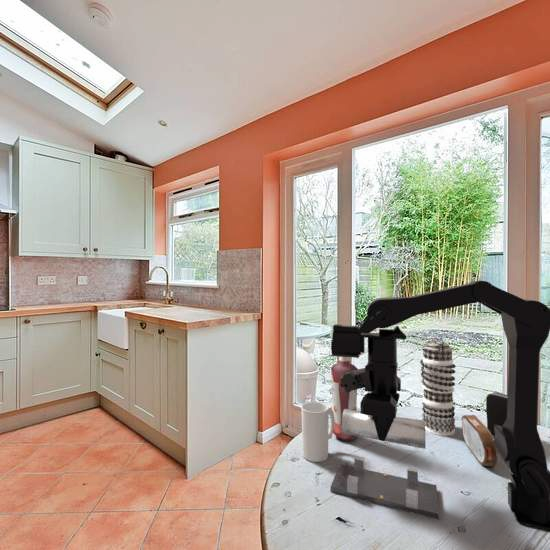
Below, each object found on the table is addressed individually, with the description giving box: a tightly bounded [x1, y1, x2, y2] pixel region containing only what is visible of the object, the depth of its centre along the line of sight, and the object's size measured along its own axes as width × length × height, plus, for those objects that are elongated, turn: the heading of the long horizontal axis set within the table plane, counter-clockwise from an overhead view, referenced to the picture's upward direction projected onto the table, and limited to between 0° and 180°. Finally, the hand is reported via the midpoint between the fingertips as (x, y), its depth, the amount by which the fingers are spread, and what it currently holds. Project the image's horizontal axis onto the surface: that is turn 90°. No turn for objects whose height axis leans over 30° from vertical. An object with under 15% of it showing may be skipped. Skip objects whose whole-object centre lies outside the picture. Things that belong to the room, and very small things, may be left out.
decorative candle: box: [419, 340, 456, 437], centre depth 95 cm, size 9×9×25 cm
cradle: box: [330, 455, 440, 520], centre depth 67 cm, size 20×10×4 cm, turn 66°
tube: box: [342, 409, 426, 450], centre depth 68 cm, size 16×5×5 cm, turn 66°
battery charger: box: [485, 392, 508, 436], centre depth 90 cm, size 7×4×11 cm, turn 34°
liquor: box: [330, 357, 359, 441], centre depth 91 cm, size 7×7×28 cm
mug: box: [300, 401, 335, 463], centre depth 82 cm, size 10×7×12 cm, turn 125°
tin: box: [461, 414, 498, 468], centre depth 81 cm, size 15×3×8 cm, turn 168°
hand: (383, 434), depth 68 cm, fingers closed on tube, 5 cm apart
